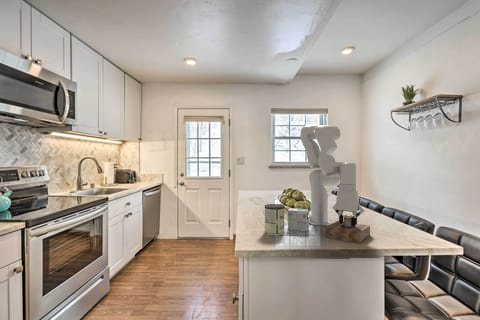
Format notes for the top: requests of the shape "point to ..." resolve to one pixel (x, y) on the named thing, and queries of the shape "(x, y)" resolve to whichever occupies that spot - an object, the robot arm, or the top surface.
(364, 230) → the socket
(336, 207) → the robot arm
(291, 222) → the light bulb box
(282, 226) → the coffee can
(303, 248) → the top surface
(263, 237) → the top surface
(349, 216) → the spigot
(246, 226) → the top surface
